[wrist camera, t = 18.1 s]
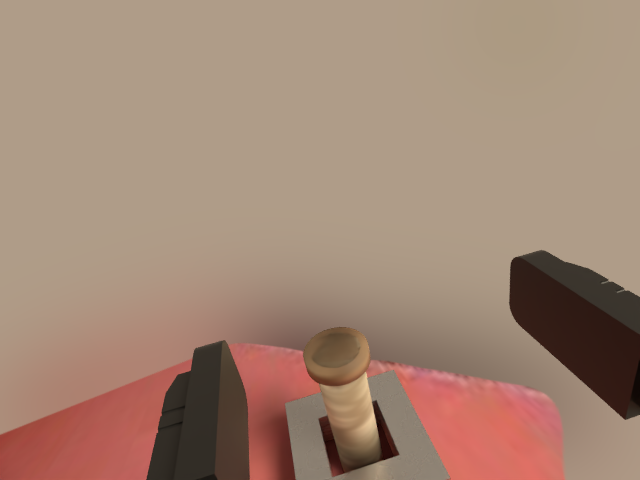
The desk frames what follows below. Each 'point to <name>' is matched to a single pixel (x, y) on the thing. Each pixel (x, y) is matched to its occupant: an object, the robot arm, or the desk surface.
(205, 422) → the robot arm
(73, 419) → the desk surface
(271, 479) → the desk surface
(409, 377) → the desk surface
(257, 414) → the desk surface
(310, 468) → the socket block
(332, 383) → the wooden pin
